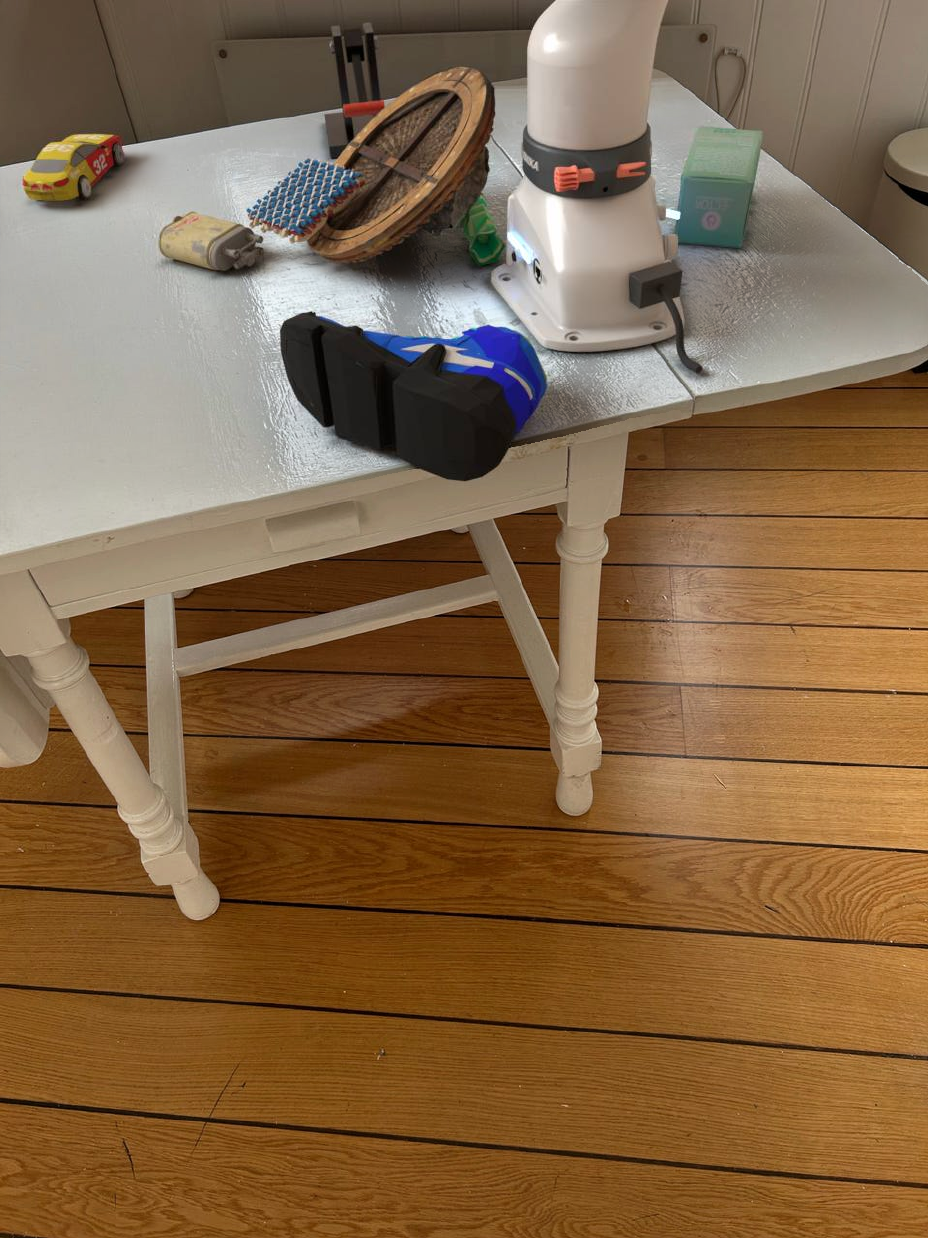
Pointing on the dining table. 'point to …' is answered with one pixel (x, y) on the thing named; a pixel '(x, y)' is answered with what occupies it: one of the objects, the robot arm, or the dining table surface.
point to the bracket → (336, 123)
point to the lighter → (209, 242)
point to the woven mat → (305, 200)
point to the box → (718, 187)
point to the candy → (482, 234)
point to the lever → (358, 76)
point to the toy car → (72, 167)
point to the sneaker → (417, 390)
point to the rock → (460, 199)
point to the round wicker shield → (409, 163)
